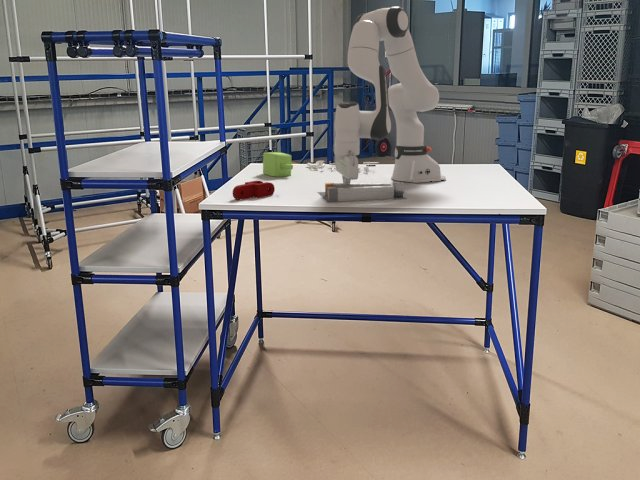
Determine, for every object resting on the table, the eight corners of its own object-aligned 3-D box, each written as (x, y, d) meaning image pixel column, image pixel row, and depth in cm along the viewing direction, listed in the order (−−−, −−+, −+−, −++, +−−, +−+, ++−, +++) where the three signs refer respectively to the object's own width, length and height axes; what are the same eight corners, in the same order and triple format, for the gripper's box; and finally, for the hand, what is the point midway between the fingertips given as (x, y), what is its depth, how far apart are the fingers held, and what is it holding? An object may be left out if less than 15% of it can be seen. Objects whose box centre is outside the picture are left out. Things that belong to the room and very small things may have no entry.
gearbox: (299, 177, 251) (300, 155, 249) (279, 179, 246) (280, 156, 243) (279, 171, 266) (279, 150, 263) (259, 172, 260) (260, 151, 258)
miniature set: (380, 168, 270) (375, 176, 259) (308, 169, 279) (301, 177, 269) (379, 154, 267) (375, 162, 256) (306, 156, 277) (299, 164, 266)
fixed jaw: (401, 195, 207) (401, 181, 206) (406, 198, 202) (406, 184, 201) (325, 198, 202) (325, 184, 200) (329, 202, 197) (329, 187, 195)
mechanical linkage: (261, 192, 219) (261, 179, 217) (274, 195, 214) (274, 181, 213) (228, 199, 207) (227, 185, 206) (241, 202, 203) (241, 188, 201)
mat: (390, 191, 218) (390, 189, 218) (406, 201, 202) (407, 198, 201) (317, 194, 213) (317, 192, 213) (328, 205, 196) (328, 202, 196)
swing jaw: (389, 194, 208) (389, 182, 207) (390, 195, 205) (390, 184, 204) (325, 194, 208) (325, 182, 207) (325, 195, 205) (325, 184, 204)
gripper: (363, 152, 195) (362, 193, 199) (348, 145, 215) (348, 182, 218) (345, 153, 194) (344, 193, 198) (332, 146, 214) (331, 183, 217)
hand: (346, 188), depth 208 cm, fingers closed
